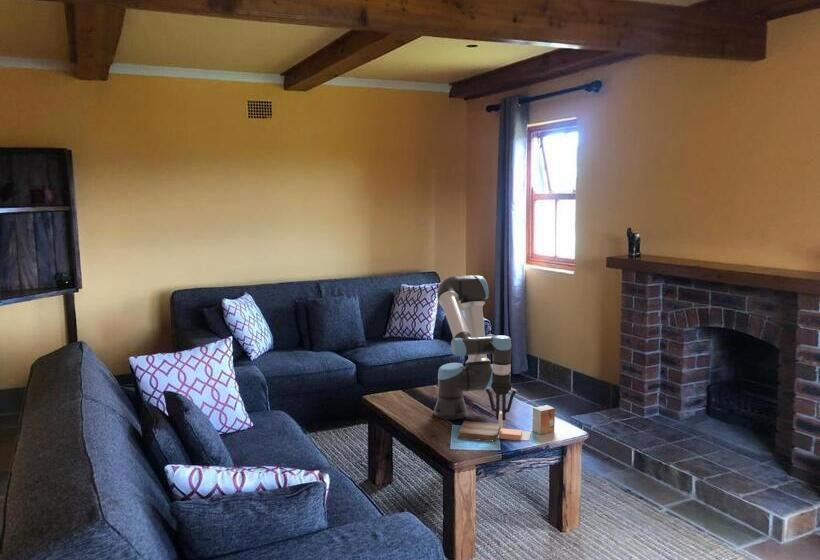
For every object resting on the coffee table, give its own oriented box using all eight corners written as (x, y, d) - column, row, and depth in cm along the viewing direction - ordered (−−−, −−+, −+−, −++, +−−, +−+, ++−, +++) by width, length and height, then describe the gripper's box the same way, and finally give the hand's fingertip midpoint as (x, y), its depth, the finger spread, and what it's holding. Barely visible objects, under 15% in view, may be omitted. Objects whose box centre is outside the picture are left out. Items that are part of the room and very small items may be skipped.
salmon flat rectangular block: (499, 437, 278) (499, 433, 277) (501, 432, 283) (501, 428, 283) (520, 439, 275) (520, 435, 275) (522, 434, 281) (522, 430, 281)
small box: (540, 435, 281) (540, 411, 280) (531, 430, 286) (532, 407, 285) (554, 431, 285) (555, 408, 284) (546, 427, 290) (546, 404, 289)
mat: (500, 429, 288) (500, 429, 288) (530, 432, 284) (530, 431, 284) (497, 438, 278) (497, 437, 278) (528, 441, 275) (528, 440, 275)
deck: (464, 426, 292) (464, 420, 291) (500, 429, 288) (500, 424, 287) (458, 437, 278) (458, 432, 278) (496, 441, 274) (496, 435, 274)
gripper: (484, 374, 275) (483, 428, 278) (516, 376, 271) (515, 431, 275) (487, 369, 282) (486, 422, 285) (518, 371, 279) (517, 425, 282)
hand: (500, 427), depth 280 cm, fingers closed
